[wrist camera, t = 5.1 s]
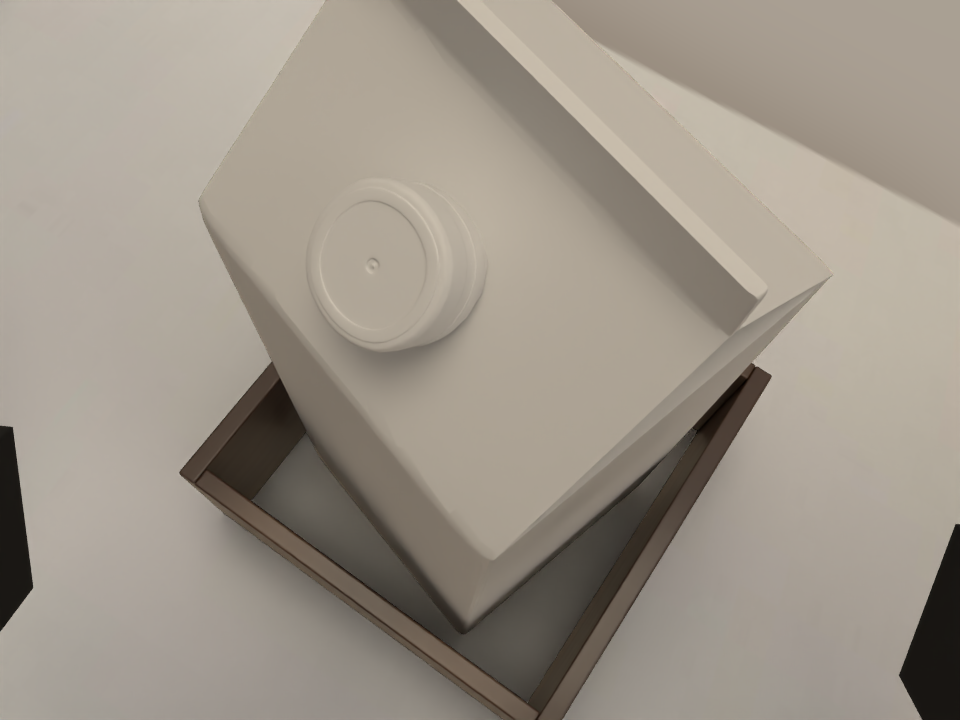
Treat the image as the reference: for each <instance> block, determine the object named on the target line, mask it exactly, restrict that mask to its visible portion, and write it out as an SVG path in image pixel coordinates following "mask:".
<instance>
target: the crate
mask: <svg viewBox="0 0 960 720" xmlns="http://www.w3.org/2000/svg"><path fill="white" fill-rule="evenodd" d="M771 377H772V376H771V375H770V374H768V373H767V372H765V371H764V370H762V369H760V368H759V367H755V365H754V364H752V363H751V364H750V365H749V366H748V367H747V368H746V369H745V370H744V371H743V372H742V374H741V375H740V376H739V377H738V378H737V379H736V380H735V381H734V382H733V383H732V384H731V386H730V387H729V388H728V389H727V390H726V391H725V392H724V393H723V394H722V395H721V396H720V398H719V399H718V400H717V401H716V402H715V403H714V404H713V405H712V406H711V407H710V408H709V409H708V411H707V412H706V413H705V414H704V415H703V416H702V417H701V418H700V419H699V420H698V421H697V423H696V424H695V425H694V426H693V428H694V429H696V430H699V431H698V433H697V434H696V436H695V437H694V439H693V441H692V442H691V444H690V445H689V447H688V448H687V450H686V452H685V453H684V455H683V456H682V458H681V460H680V461H679V463H678V464H677V466H676V468H675V469H674V471H673V472H672V474H671V476H670V477H669V479H668V480H667V482H666V483H665V485H664V487H663V488H662V490H661V491H660V493H659V495H658V496H657V498H656V499H655V501H654V503H653V504H652V506H651V507H650V509H649V510H648V512H647V514H646V515H645V517H644V518H643V520H642V522H641V523H640V525H639V526H638V528H637V530H636V531H635V533H634V534H633V536H632V537H631V539H630V541H629V542H628V544H627V545H626V547H625V549H624V550H623V552H622V553H621V555H620V557H619V558H618V560H617V561H616V563H615V565H614V566H613V568H612V569H611V571H610V572H609V574H608V576H607V577H606V579H605V580H604V582H603V584H602V585H601V587H600V588H599V590H598V592H597V593H596V595H595V596H594V598H593V599H592V601H591V603H590V604H589V606H588V607H587V609H586V611H585V612H584V614H583V615H582V617H581V619H580V620H579V622H578V623H577V625H576V626H575V628H574V630H573V631H572V633H571V634H570V636H569V638H568V639H567V641H566V642H565V644H564V646H563V647H562V649H561V650H560V652H559V654H558V655H557V657H556V658H555V660H554V661H553V663H552V665H551V666H550V668H549V669H548V671H547V673H546V674H545V676H544V677H543V679H542V681H541V682H540V684H539V685H538V687H537V688H536V690H535V692H534V693H533V695H532V696H531V698H530V700H529V701H528V703H527V702H526V701H524V700H523V699H521V698H520V697H519V696H517V695H516V694H515V693H513V692H512V691H511V690H509V689H508V688H506V687H505V686H504V685H502V684H501V683H500V682H498V681H497V680H495V679H494V678H493V677H491V676H490V675H489V674H487V673H486V672H485V671H483V670H482V669H480V668H479V667H478V666H476V665H475V664H474V663H472V662H471V661H470V660H468V659H467V658H465V657H464V656H463V655H461V654H460V653H459V652H457V651H456V650H454V649H453V648H452V647H450V646H449V645H448V644H446V643H445V642H444V641H442V640H441V639H439V638H438V637H437V636H435V635H434V634H433V633H431V632H430V631H428V630H427V629H426V628H424V627H423V626H422V625H420V624H419V623H418V622H416V621H415V620H413V619H412V618H411V617H409V616H408V615H407V614H405V613H404V612H402V611H401V610H400V609H398V608H397V607H396V606H394V605H393V604H392V603H390V602H389V601H387V600H386V599H385V598H383V597H382V596H381V595H379V594H378V593H377V592H375V591H374V590H372V589H371V588H370V587H368V586H367V585H366V584H364V583H363V582H361V581H360V580H359V579H357V578H356V577H355V576H353V575H352V574H351V573H349V572H348V571H346V570H345V569H344V568H342V567H341V566H340V565H338V564H337V563H335V562H334V561H333V560H331V559H330V558H329V557H327V556H326V555H325V554H323V553H322V552H320V551H319V550H318V549H316V548H315V547H314V546H312V545H311V544H310V543H308V542H307V541H305V540H304V539H303V538H301V537H300V536H299V535H297V534H296V533H294V532H293V531H292V530H290V529H289V528H288V527H286V526H285V525H284V524H282V523H281V522H279V521H278V520H277V519H275V518H274V517H273V516H271V515H270V514H268V513H267V512H266V511H264V510H263V509H262V508H260V507H259V506H258V505H256V504H255V503H253V502H252V501H251V500H252V499H253V497H254V496H255V495H256V494H257V492H258V491H259V490H260V489H261V487H262V486H263V485H264V484H265V482H266V481H267V480H268V479H269V477H270V476H271V475H272V474H273V472H274V471H275V470H276V469H277V467H278V466H279V465H280V464H281V462H282V461H283V460H284V459H285V457H286V456H287V455H288V454H289V452H290V451H291V450H292V449H293V447H294V446H295V445H296V444H297V442H298V441H299V440H300V439H301V437H302V436H303V435H304V434H305V432H306V429H305V427H304V425H303V423H302V421H301V419H300V417H299V415H298V413H297V411H296V409H295V407H294V405H293V403H292V401H291V399H290V397H289V395H288V393H287V391H286V389H285V387H284V385H283V382H282V380H281V378H280V376H279V374H278V372H277V370H276V368H275V366H274V364H273V362H271V363H270V364H269V366H268V367H267V368H266V369H265V370H264V372H263V373H262V374H261V375H260V376H259V377H258V379H257V380H256V381H255V382H254V383H253V385H252V386H251V387H250V388H249V389H248V391H247V392H246V393H245V394H244V395H243V397H242V398H241V399H240V400H239V401H238V403H237V404H236V405H235V406H234V407H233V409H232V410H231V411H230V412H229V413H228V414H227V416H226V417H225V418H224V419H223V420H222V422H221V423H220V424H219V425H218V426H217V428H216V429H215V430H214V431H213V432H212V434H211V435H210V436H209V437H208V438H207V440H206V441H205V442H204V443H203V444H202V446H201V447H200V448H199V449H198V450H197V452H196V453H195V454H194V455H193V456H192V457H191V459H190V460H189V461H188V462H187V463H186V465H185V466H184V467H183V468H182V469H181V471H180V472H179V473H180V475H181V476H182V477H183V478H184V479H186V480H187V481H188V482H189V483H190V484H191V485H192V486H194V487H195V488H196V489H197V490H198V491H199V492H200V493H201V494H203V495H204V496H205V497H206V498H207V499H208V500H209V501H211V502H212V503H213V504H214V505H215V506H216V507H217V508H218V509H220V510H221V511H222V512H223V513H224V514H226V515H227V516H228V517H230V518H231V519H232V520H234V521H235V522H236V523H238V524H239V525H241V526H242V527H243V528H245V529H246V530H247V531H249V532H250V533H251V534H253V535H254V536H255V537H257V538H258V539H259V540H261V541H262V542H264V543H265V544H266V545H268V546H269V547H270V548H272V549H273V550H274V551H276V552H277V553H278V554H280V555H281V556H282V557H284V558H285V559H287V560H288V561H289V562H291V563H292V564H293V565H295V566H296V567H297V568H299V569H300V570H301V571H303V572H304V573H305V574H307V575H308V576H310V577H311V578H312V579H314V580H315V581H316V582H318V583H319V584H320V585H322V586H323V587H324V588H326V589H327V590H328V591H330V592H331V593H333V594H334V595H335V596H337V597H338V598H339V599H341V600H342V601H343V602H345V603H346V604H347V605H349V606H350V607H351V608H353V609H354V610H356V611H357V612H358V613H360V614H361V615H362V616H364V617H365V618H366V619H368V620H369V621H370V622H372V623H373V624H375V625H376V626H377V627H379V628H380V629H381V630H383V631H384V632H385V633H387V634H388V635H389V636H391V637H392V638H393V639H395V640H396V641H398V642H399V643H400V644H402V645H403V646H404V647H406V648H407V649H408V650H410V651H411V652H412V653H414V654H415V655H416V656H418V657H419V658H421V659H422V660H423V661H425V662H426V663H427V664H429V665H430V666H431V667H433V668H434V669H435V670H437V671H438V672H439V673H441V674H442V675H444V676H445V677H446V678H448V679H449V680H450V681H452V682H453V683H454V684H456V685H457V686H458V687H460V688H461V689H462V690H464V691H465V692H467V693H468V694H469V695H471V696H472V697H473V698H475V699H476V700H477V701H479V702H480V703H481V704H483V705H484V706H485V707H487V708H488V709H490V710H491V711H492V712H494V713H495V714H496V715H498V716H499V717H500V718H502V719H503V720H562V719H563V717H564V716H565V714H566V713H567V711H568V709H569V708H570V706H571V704H572V703H573V701H574V700H575V698H576V696H577V695H578V693H579V691H580V690H581V688H582V686H583V685H584V683H585V682H586V680H587V678H588V677H589V675H590V673H591V672H592V670H593V668H594V667H595V665H596V664H597V662H598V660H599V659H600V657H601V655H602V654H603V652H604V650H605V649H606V647H607V646H608V644H609V642H610V641H611V639H612V637H613V636H614V634H615V633H616V631H617V629H618V628H619V626H620V624H621V623H622V621H623V619H624V618H625V616H626V615H627V613H628V611H629V610H630V608H631V606H632V605H633V603H634V601H635V600H636V598H637V597H638V595H639V593H640V592H641V590H642V588H643V587H644V585H645V583H646V582H647V580H648V579H649V577H650V575H651V574H652V572H653V570H654V569H655V567H656V566H657V564H658V562H659V561H660V559H661V557H662V556H663V554H664V552H665V551H666V549H667V548H668V546H669V544H670V543H671V541H672V539H673V538H674V536H675V534H676V533H677V531H678V530H679V528H680V526H681V525H682V523H683V521H684V520H685V518H686V516H687V515H688V513H689V512H690V510H691V508H692V507H693V505H694V503H695V502H696V500H697V499H698V497H699V495H700V494H701V492H702V490H703V489H704V487H705V485H706V484H707V482H708V481H709V479H710V477H711V476H712V474H713V472H714V471H715V469H716V467H717V466H718V464H719V463H720V461H721V459H722V458H723V456H724V454H725V453H726V451H727V449H728V448H729V446H730V445H731V443H732V441H733V440H734V438H735V436H736V435H737V433H738V432H739V430H740V428H741V427H742V425H743V423H744V422H745V420H746V418H747V417H748V415H749V414H750V412H751V410H752V409H753V407H754V405H755V404H756V402H757V400H758V399H759V397H760V396H761V394H762V392H763V391H764V389H765V387H766V386H767V384H768V382H769V381H770V379H771Z"/></svg>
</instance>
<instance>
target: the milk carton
mask: <svg viewBox="0 0 960 720" xmlns="http://www.w3.org/2000/svg"><path fill="white" fill-rule="evenodd" d="M198 202H199V207H200V210H201V213H202V217H203V220H204V223H205V225H206V227H207V229H208V232H209V234H210V236H211V238H212V240H213V242H214V244H215V246H216V248H217V250H218V252H219V254H220V256H221V258H222V260H223V263H224V265H225V267H226V269H227V271H228V273H229V275H230V277H231V279H232V281H233V283H234V285H235V287H236V289H237V291H238V293H239V295H240V297H241V299H242V301H243V303H244V305H245V307H246V309H247V311H248V313H249V315H250V317H251V319H252V321H253V324H254V326H255V328H256V330H257V332H258V334H259V336H260V338H261V340H262V342H263V344H264V346H265V348H266V350H267V352H268V354H269V356H270V358H271V360H272V362H273V364H274V366H275V368H276V370H277V372H278V374H279V376H280V378H281V380H282V382H283V385H284V387H285V389H286V391H287V393H288V395H289V397H290V399H291V401H292V403H293V405H294V407H295V409H296V411H297V413H298V415H299V417H300V419H301V421H302V423H303V425H304V427H305V429H306V431H307V433H308V435H309V437H310V439H311V441H312V443H313V446H314V448H315V450H316V452H317V453H318V455H319V457H320V458H321V460H322V461H323V462H324V464H325V465H326V466H327V468H328V469H329V470H330V471H331V473H332V474H333V475H334V476H335V478H336V479H337V480H338V482H339V483H340V484H341V485H342V487H343V488H344V489H345V490H346V492H347V493H348V494H349V495H350V497H351V498H352V499H353V501H354V502H355V503H356V504H357V506H358V507H359V508H360V509H361V511H362V512H363V513H364V514H365V516H366V517H367V518H368V520H369V521H370V522H371V523H372V525H373V526H374V527H375V528H376V530H377V531H378V532H379V533H380V535H381V536H382V537H383V539H384V540H385V541H386V542H387V544H388V545H389V546H390V547H391V549H392V550H393V551H394V552H395V554H396V555H397V556H398V558H399V559H400V560H401V561H402V563H403V564H404V565H405V566H406V568H407V569H408V570H409V571H410V573H411V574H412V575H413V577H414V578H415V579H416V580H417V582H418V583H419V584H420V585H421V587H422V588H423V589H424V590H425V592H426V593H427V594H428V596H429V597H430V598H431V599H432V601H433V602H434V603H435V604H436V606H437V607H438V608H439V609H440V611H441V612H442V613H443V614H444V616H445V617H446V618H447V619H448V621H449V622H450V623H451V624H452V626H453V627H454V628H455V629H456V630H457V631H458V632H459V633H460V634H462V635H464V634H466V633H467V632H469V631H470V630H471V629H472V628H473V627H474V626H476V625H477V624H478V623H479V622H480V621H481V620H483V619H484V618H485V617H486V616H487V615H488V614H490V613H491V612H492V611H493V610H494V609H495V608H497V607H498V606H499V605H500V604H501V603H502V602H504V601H505V600H506V599H507V598H508V597H509V596H511V595H512V594H513V593H514V592H515V591H516V590H517V589H519V588H520V587H521V586H522V585H523V584H524V583H526V582H527V581H528V580H529V579H530V578H531V577H533V576H534V575H535V574H536V573H537V572H538V571H540V570H541V569H542V568H543V567H544V566H545V565H547V564H548V563H549V562H550V561H551V560H552V559H554V558H555V557H556V556H557V555H558V554H559V553H561V552H562V551H563V550H564V549H565V548H566V547H568V546H569V545H570V544H571V543H572V542H573V541H574V540H576V539H577V538H578V537H579V536H580V535H581V534H583V533H584V532H585V531H586V530H587V529H588V528H590V527H591V526H592V525H593V524H594V523H595V522H597V521H598V520H599V519H600V518H601V517H602V516H604V515H605V514H606V513H607V512H608V511H609V510H611V509H612V508H613V507H614V506H615V505H616V504H618V503H619V502H620V501H621V500H622V499H623V498H625V497H626V496H627V495H628V494H629V493H630V492H631V491H633V490H634V489H635V488H636V487H637V486H638V485H640V483H641V482H642V481H643V480H644V479H645V478H646V477H647V476H648V475H649V474H650V473H651V472H652V470H653V469H654V468H655V467H656V466H657V465H658V464H659V463H660V462H661V461H662V460H663V458H664V457H665V456H666V455H667V454H668V453H669V452H670V451H671V450H672V449H673V448H674V446H675V445H676V444H677V443H678V442H679V441H680V440H681V439H682V438H683V437H684V436H685V435H686V433H687V432H688V431H689V430H690V429H691V428H692V427H693V426H694V425H695V424H696V423H697V421H698V420H699V419H700V418H701V417H702V416H703V415H704V414H705V413H706V412H707V411H708V409H709V408H710V407H711V406H712V405H713V404H714V403H715V402H716V401H717V400H718V399H719V398H720V396H721V395H722V394H723V393H724V392H725V391H726V390H727V389H728V388H729V387H730V386H731V384H732V383H733V382H734V381H735V380H736V379H737V378H738V377H739V376H740V375H741V374H742V372H743V371H744V370H745V369H746V368H747V367H748V366H749V365H750V364H751V363H752V362H753V361H754V359H755V358H756V357H757V356H758V355H759V354H760V353H761V352H762V351H763V350H764V349H765V347H766V346H767V345H768V344H769V343H770V342H771V341H772V340H773V339H774V338H775V337H776V335H777V334H778V333H779V332H780V331H781V330H782V329H783V328H784V327H785V326H786V325H787V324H788V322H789V321H790V320H791V319H792V318H793V317H794V316H795V315H796V314H797V313H798V312H799V310H800V309H801V308H802V307H803V306H804V305H805V304H806V303H807V302H808V301H809V300H810V298H811V297H812V296H813V295H814V294H815V293H816V292H817V291H818V290H819V289H820V288H821V287H822V285H823V284H824V283H825V282H826V281H827V280H828V279H829V278H830V277H831V276H832V275H833V272H832V271H831V270H830V269H829V268H828V267H827V266H826V265H825V264H824V263H823V262H822V261H821V260H820V259H819V258H818V257H817V256H816V255H815V254H814V253H813V252H812V251H811V250H810V249H809V248H808V247H807V246H806V245H805V244H804V243H803V242H802V241H801V240H800V239H799V238H798V237H797V236H796V235H795V234H794V233H793V232H792V231H791V230H790V229H789V228H787V227H786V226H785V225H784V224H783V223H782V222H781V221H780V220H779V219H778V218H777V217H776V216H775V215H774V214H773V213H772V212H771V211H770V210H769V209H768V208H767V207H766V206H765V205H764V204H763V203H762V202H761V201H759V200H758V199H757V198H756V197H755V196H754V195H753V194H752V193H751V192H750V191H749V190H748V189H747V188H746V187H745V186H744V185H743V184H742V183H741V182H740V181H739V180H738V179H737V178H736V177H735V176H734V175H733V174H731V173H730V172H729V171H728V170H727V169H726V168H725V167H724V166H723V165H722V164H721V163H720V162H719V161H718V160H717V159H716V158H715V157H714V156H713V155H712V154H711V153H710V152H709V151H708V150H707V149H706V148H705V147H703V146H702V145H701V144H700V143H699V142H698V141H697V140H696V139H695V138H694V137H693V136H692V135H691V134H690V133H689V132H688V131H687V130H686V129H685V128H684V127H683V126H682V125H681V124H680V123H679V122H678V121H677V120H675V119H674V118H673V117H672V116H671V115H670V114H669V113H668V112H667V111H666V110H665V109H664V108H663V107H662V106H661V105H660V104H659V103H658V102H657V101H656V100H655V99H654V98H653V97H652V96H651V95H650V94H648V93H647V92H646V91H645V90H644V89H643V88H642V87H641V86H640V85H639V84H638V83H637V82H636V81H635V80H634V79H633V78H632V77H631V76H630V75H629V74H628V73H627V72H626V71H625V70H624V69H623V68H622V67H620V66H619V65H618V64H617V63H616V62H615V61H614V60H613V59H612V58H611V57H610V56H609V55H608V54H607V53H606V52H605V51H604V50H603V49H602V48H601V47H600V46H599V45H598V44H597V43H596V42H595V41H594V40H592V39H591V38H590V37H589V36H588V35H587V34H586V33H585V32H584V31H583V30H582V29H581V28H580V27H579V26H578V25H577V24H576V23H575V22H574V21H573V20H572V19H571V18H570V17H568V16H567V15H566V14H565V13H564V12H563V11H562V10H561V9H560V8H559V7H558V6H557V5H556V4H555V3H553V1H552V0H326V1H325V3H324V4H323V6H322V7H321V9H320V11H319V12H318V14H317V15H316V17H315V18H314V20H313V22H312V23H311V25H310V26H309V28H308V29H307V31H306V32H305V34H304V36H303V37H302V39H301V40H300V42H299V43H298V45H297V46H296V48H295V50H294V51H293V53H292V54H291V56H290V57H289V59H288V60H287V62H286V64H285V65H284V67H283V68H282V70H281V71H280V73H279V74H278V76H277V78H276V79H275V81H274V82H273V84H272V85H271V87H270V88H269V90H268V91H267V93H266V95H265V96H264V98H263V99H262V101H261V102H260V104H259V105H258V107H257V109H256V110H255V112H254V113H253V115H252V116H251V118H250V119H249V121H248V123H247V124H246V126H245V127H244V129H243V130H242V132H241V133H240V135H239V137H238V138H237V140H236V141H235V143H234V144H233V146H232V147H231V149H230V151H229V152H228V154H227V155H226V157H225V158H224V160H223V161H222V163H221V165H220V166H219V168H218V169H217V171H216V172H215V174H214V175H213V177H212V179H211V180H210V182H209V183H208V185H207V187H206V188H205V190H204V191H203V193H202V195H201V197H200V198H199V201H198Z"/></svg>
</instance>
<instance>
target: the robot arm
mask: <svg viewBox="0 0 960 720" xmlns="http://www.w3.org/2000/svg"><path fill="white" fill-rule="evenodd" d="M32 589H33V582H32V574H31V566H30V558H29V551H28V543H27V535H26V527H25V519H24V512H23V504H22V496H21V488H20V480H19V472H18V465H17V457H16V449H15V441H14V433H13V427H8V426H0V631H1V630H2V629H3V627H4V626H5V625H6V623H7V622H8V621H9V619H10V618H11V617H12V615H13V614H14V613H15V611H16V610H17V609H18V607H19V606H20V605H21V603H22V602H23V601H24V599H25V598H26V597H27V595H28V594H29V593H30V591H31V590H32ZM899 676H900V678H901V680H902V682H903V684H904V686H905V688H906V690H907V692H908V694H909V695H910V697H911V699H912V701H913V703H914V705H915V707H916V709H917V711H918V713H919V714H920V716H921V718H922V720H960V524H956V525H955V527H954V530H953V533H952V535H951V538H950V541H949V543H948V546H947V549H946V551H945V554H944V557H943V559H942V562H941V565H940V567H939V570H938V573H937V575H936V578H935V581H934V583H933V586H932V589H931V591H930V594H929V597H928V599H927V602H926V605H925V607H924V610H923V613H922V615H921V618H920V621H919V623H918V626H917V629H916V632H915V634H914V637H913V640H912V642H911V645H910V648H909V650H908V653H907V656H906V658H905V661H904V664H903V666H902V669H901V672H900V674H899Z"/></svg>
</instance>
